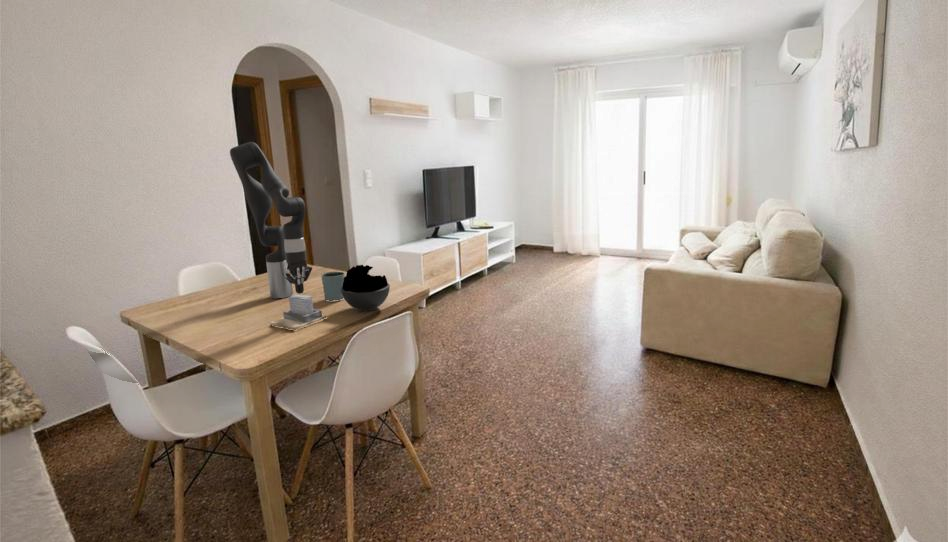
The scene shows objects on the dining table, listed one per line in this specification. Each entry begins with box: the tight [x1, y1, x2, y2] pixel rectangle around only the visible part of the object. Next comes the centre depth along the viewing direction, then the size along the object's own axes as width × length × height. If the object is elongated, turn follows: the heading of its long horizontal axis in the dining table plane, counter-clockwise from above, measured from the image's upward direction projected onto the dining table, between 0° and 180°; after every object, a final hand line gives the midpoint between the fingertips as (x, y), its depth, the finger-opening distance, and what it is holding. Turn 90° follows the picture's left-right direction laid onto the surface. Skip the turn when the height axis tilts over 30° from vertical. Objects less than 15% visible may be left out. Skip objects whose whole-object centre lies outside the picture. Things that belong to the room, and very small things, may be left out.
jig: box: [269, 308, 328, 330], centre depth 194 cm, size 16×14×4 cm
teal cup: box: [321, 271, 346, 301], centre depth 224 cm, size 10×10×12 cm
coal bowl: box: [341, 264, 391, 311], centre depth 208 cm, size 20×20×19 cm
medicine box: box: [288, 294, 314, 315], centre depth 195 cm, size 8×4×9 cm, turn 68°
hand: (299, 293), depth 194 cm, fingers closed
